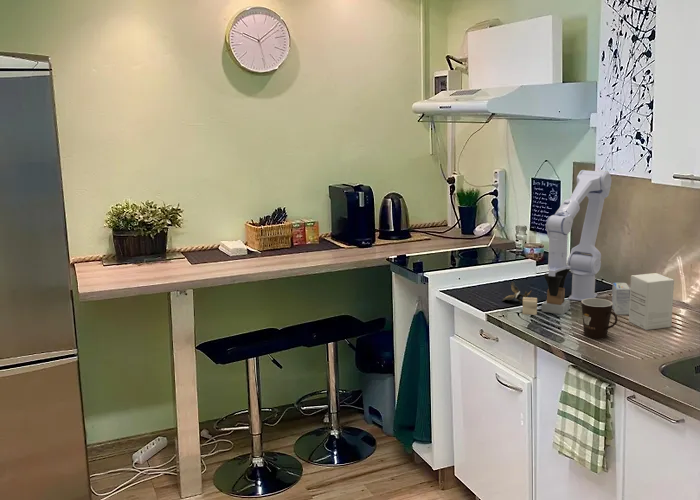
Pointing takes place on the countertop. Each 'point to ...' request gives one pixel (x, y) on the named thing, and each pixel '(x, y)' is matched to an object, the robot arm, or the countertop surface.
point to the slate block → (556, 307)
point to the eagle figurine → (516, 293)
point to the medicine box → (621, 298)
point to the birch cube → (529, 306)
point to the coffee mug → (597, 317)
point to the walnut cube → (556, 297)
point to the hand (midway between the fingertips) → (556, 292)
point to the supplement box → (651, 301)
